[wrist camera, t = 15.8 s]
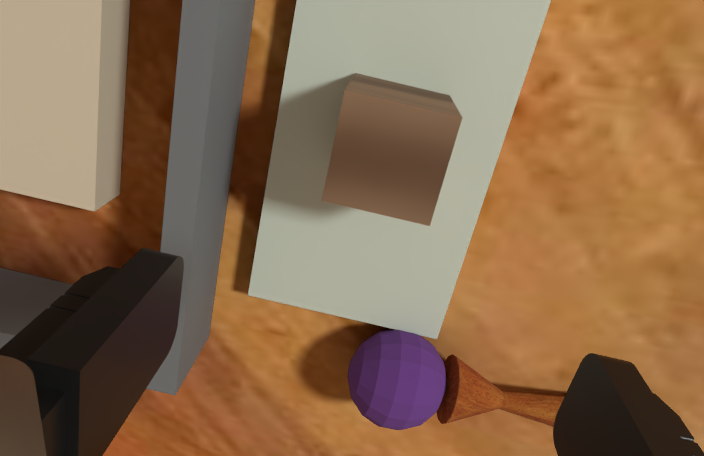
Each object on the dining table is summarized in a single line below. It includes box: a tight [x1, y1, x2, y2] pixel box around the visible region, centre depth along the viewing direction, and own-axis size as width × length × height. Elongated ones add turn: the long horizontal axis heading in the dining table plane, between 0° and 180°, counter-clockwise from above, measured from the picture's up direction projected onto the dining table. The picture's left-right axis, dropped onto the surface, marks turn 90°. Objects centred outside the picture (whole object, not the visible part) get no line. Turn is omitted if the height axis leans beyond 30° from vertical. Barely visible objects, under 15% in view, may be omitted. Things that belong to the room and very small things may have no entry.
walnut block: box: [321, 73, 462, 226], centre depth 26 cm, size 5×5×6 cm
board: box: [248, 0, 551, 339], centre depth 30 cm, size 24×12×2 cm, turn 168°
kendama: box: [348, 329, 565, 430], centre depth 34 cm, size 6×6×20 cm
